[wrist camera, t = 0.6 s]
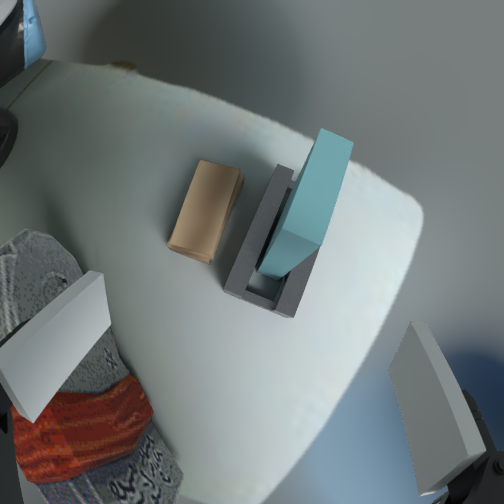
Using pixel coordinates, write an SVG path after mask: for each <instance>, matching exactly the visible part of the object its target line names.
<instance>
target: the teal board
mask: <svg viewBox="0 0 504 504" xmlns="http://www.w3.org/2000/svg"><path fill="white" fill-rule="evenodd" d="M353 144H354V143H353V142H351V141H349V140H347V139H344V138H342V137H340V136H338V135H336V134H334V133H331V132H329V131H327V130H324V129H322V128H321V129H320V131H319V134H318V136H317V138H316V140H315V142H314V144H313V146H312V148H311V151H310V153H309V155H308V157H307V159H306V161H305V163H304V165H303V168H302V170H301V172H300V174H299V176H298V178H297V180H296V182H295V185H294V187H293V189H292V191H291V193H290V195H289V197H288V199H287V202H286V204H285V206H284V208H283V210H282V212H281V215H280V217H279V220H278V222H277V225H276V227H275V229H274V232H273V234H272V237H271V239H270V242H269V244H268V247H267V249H266V251H265V254H264V256H263V259H262V261H261V264H260V266H259V269H258V271H257V272H258V273H260V274H262V275H265V276H267V277H270V278H272V279H274V280H277V281H278V280H279V279H280V278H281V277H283V276H284V275H285V274H287V273H288V272H289V271H290V270H292V269H293V268H294V267H295V266H297V265H298V264H299V263H300V262H302V261H303V260H304V259H305V258H307V257H308V256H309V255H310V254H312V253H313V252H314V251H315V250H317V249H318V248H319V247H320V246H322V243H323V240H324V237H325V234H326V231H327V228H328V225H329V222H330V219H331V216H332V213H333V210H334V207H335V204H336V201H337V197H338V194H339V191H340V188H341V185H342V181H343V178H344V175H345V171H346V168H347V165H348V161H349V158H350V154H351V151H352V147H353Z"/></svg>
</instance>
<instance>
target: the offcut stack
mask: <svg viewBox="0 0 504 504" xmlns="http://www.w3.org/2000/svg"><path fill="white" fill-rule="evenodd" d="M244 177H245V175H243V174H240V169H236V168H232V167H228V166H224V165H220V164H216V163H212V162H208V161H204V160H200V162H199V164H198V167H197V169H196V172H195V174H194V177H193V179H192V182H191V185H190V187H189V190H188V193H187V195H186V198H185V201H184V203H183V206H182V209H181V212H180V214H179V217H178V220H177V223H176V225H175V228H174V230H173V232H172V234H171V237H170V239H169V241H168V244H167V247H168V248H169V249H170V250H172V251H175V252H177V253H180V254H182V255H185V256H188V257H190V258H193V259H195V260H198V261H200V262H203V263H206V264H208V265H210V263H211V261H212V260H214V257H215V254H216V250H217V247H218V244H219V241H220V238H221V236H222V233H223V231H224V229H225V226H226V224H227V221H228V219H229V216H230V214H231V212H232V209H233V207H234V204H235V202H236V200H237V197H238V195H239V193H240V190H241V188H242V186H243V183H244Z"/></svg>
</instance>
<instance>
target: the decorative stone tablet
mask: <svg viewBox="0 0 504 504" xmlns="http://www.w3.org/2000/svg"><path fill="white" fill-rule="evenodd" d="M82 276H83V273H82V271H81V269H80V267H79V265H78V264H77V262H76V260H75V258H74V257H73V256H72V255H71V254H70V253H69V252H68V251H67V250H66V249H65V248H64V247H63V246H62V245H61V244H60V243H59V242H58V241H57V240H56V239H55V238H54V237H52V236H51V235H49V234H47V233H43V232H38V231H34V230H30V229H26V228H25V229H23V230H22V231H21V232H19V233H18V234H16V235H15V236H14V237H12V238H11V239H9V240H8V241H7V242H5V243H4V244H2V245H1V246H0V341H1V340H2V339H3V338H6V336H7V335H8V334H9V333H10V332H12V330H13V329H14V328H15V327H16V326H18V325H19V324H20V323H22V322H24V321H26V320H28V319H30V318H33V317H34V316H35V315H37V314H38V313H39V312H40V311H41V310H42V309H43V308H45V307H46V306H47V305H48V304H49V303H50V302H52V301H53V300H54V299H55V298H56V297H58V296H59V295H60V294H61V293H62V292H64V291H65V290H66V289H67V288H68V287H70V286H71V285H72V284H73V283H75V282H76V281H77V280H78V279H80V278H81V277H82ZM10 410H11V411H12V415H13V434H14V446H15V455H16V461H17V463H18V464H19V466H20V468H21V470H22V472H23V474H24V475H25V477H26V479H27V481H30V482H33V483H35V485H36V486H37V488H38V490H39V492H40V493H41V495H42V496H43V498H44V500H45V501H46V503H47V504H176V501H177V498H178V495H179V492H180V489H181V486H182V482H183V479H184V473H183V472H182V470H181V469H180V467H179V466H178V464H177V463H176V461H175V460H174V458H173V457H172V455H171V453H170V452H169V450H168V449H167V447H166V445H165V444H164V442H163V440H162V439H161V437H160V435H159V434H158V432H157V430H156V428H155V427H154V425H153V423H152V421H151V418H152V415H153V412H154V411H153V409H152V407H151V405H150V403H149V402H148V400H147V398H146V396H145V394H144V392H143V390H142V388H141V386H140V384H139V381H138V379H137V378H135V377H134V376H132V375H131V374H130V373H129V371H128V370H127V368H126V367H125V365H124V364H123V362H122V360H121V359H120V357H119V354H118V350H117V346H116V342H115V339H114V337H113V334H112V332H111V329H110V327H108V329H107V330H106V331H105V332H104V333H103V334H102V336H101V337H100V338H99V339H98V340H97V342H96V343H95V344H94V345H93V347H92V348H91V349H90V350H89V351H88V353H87V354H86V355H85V356H84V358H83V359H82V360H81V361H80V363H79V364H78V365H77V366H76V368H75V369H74V370H73V371H72V373H71V374H70V375H69V376H68V378H67V379H66V380H65V382H64V383H63V384H62V385H61V387H60V388H59V389H58V391H57V392H56V393H55V395H54V396H53V397H52V399H51V400H50V401H49V403H48V404H47V405H46V407H45V408H44V409H43V411H42V412H41V413H40V415H39V416H38V417H37V419H36V420H35V422H34V423H32V422H31V421H29V420H27V419H26V418H24V417H23V416H21V415H20V414H19V413H18V411H17V410H16V408H15V406H14V405H12V406H11V408H10Z"/></svg>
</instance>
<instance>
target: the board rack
mask: <svg viewBox="0 0 504 504" xmlns="http://www.w3.org/2000/svg"><path fill="white" fill-rule="evenodd" d="M293 173H294V170H292V169H289V168H287V167H284V166H282V165H279V164H277V167H276V169H275V171H274V173H273V176H272V178H271V180H270V182H269V185H268V187H267V189H266V192H265V194H264V196H263V198H262V201H261V203H260V205H259V208H258V210H257V212H256V214H255V217H254V219H253V221H252V224H251V226H250V228H249V230H248V233H247V235H246V237H245V240H244V242H243V244H242V247H241V249H240V251H239V254H238V256H237V258H236V260H235V263H234V265H233V267H232V270H231V272H230V274H229V277H228V279H227V281H226V284H225V286H224V288H223V290H224V292H225V293H227V294H230V295H232V296H234V297H237V298H239V299H242V300H244V301H246V302H249V303H251V304H254V305H256V306H259V307H261V308H264V309H266V310H269V311H271V312H274V313H276V314H279V315H281V316H284V317H286V318H294V316H295V313H296V311H297V308H298V305H299V303H300V300H301V298H302V295H303V292H304V290H305V287H306V284H307V282H308V279H309V276H310V273H311V271H312V268H313V265H314V262H315V260H316V257H317V254H318V251H319V248H320V247H319V248H318V249H317V250H315V251H314V252H313V253H312V254H310V255H309V256H308V257H307V258H305V259H304V260H303V261H302V262H300V263H299V264H298V265H297V266H295V267H294V268H293V269H292V270H290V271H289V272H288V273H287V274H285V275H284V277H283V280H282V282H281V285H280V287H279V290H278V292H277V295H276V297H275V300H274V301H271V300H269V299H266V298H264V297H261V296H259V295H256V294H254V293H252V292H249V291H247V290H245V289H246V287H247V284H248V282H249V279H250V277H251V275H252V272H253V270H254V267H255V265H256V263H257V260H258V258H259V255H260V253H261V250H262V248H263V246H264V243H265V241H266V238H267V236H268V234H269V231H270V229H271V226H272V224H273V221H274V219H275V217H276V214H277V212H278V209H279V207H280V204H281V202H282V199H283V197H284V195H285V192H286V193H289V194H290V193H291V191H292V189H293V187H294V185H295V182H293V181H291V177H292V175H293Z"/></svg>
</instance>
